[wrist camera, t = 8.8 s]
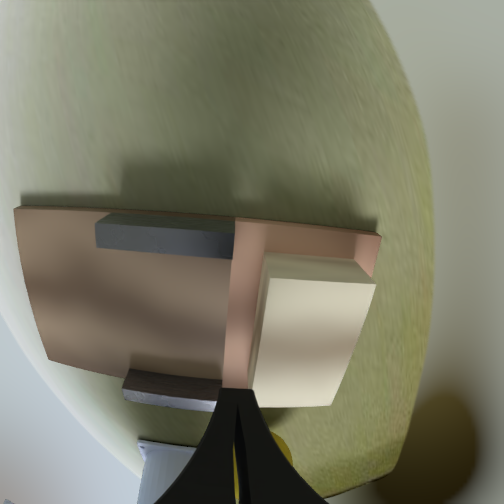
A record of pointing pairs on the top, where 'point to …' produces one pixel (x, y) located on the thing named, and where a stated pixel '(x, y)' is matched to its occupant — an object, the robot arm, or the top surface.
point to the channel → (175, 243)
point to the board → (158, 292)
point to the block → (305, 327)
